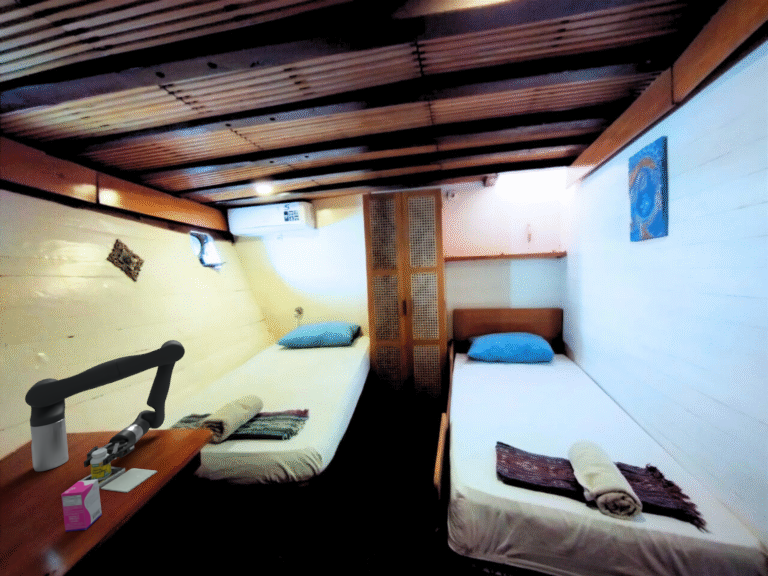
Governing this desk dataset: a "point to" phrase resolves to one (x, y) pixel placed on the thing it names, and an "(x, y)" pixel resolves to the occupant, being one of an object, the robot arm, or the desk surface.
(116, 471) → the square frame
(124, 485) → the pad
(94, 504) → the supplement box
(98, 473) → the supplement bottle
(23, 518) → the desk surface
